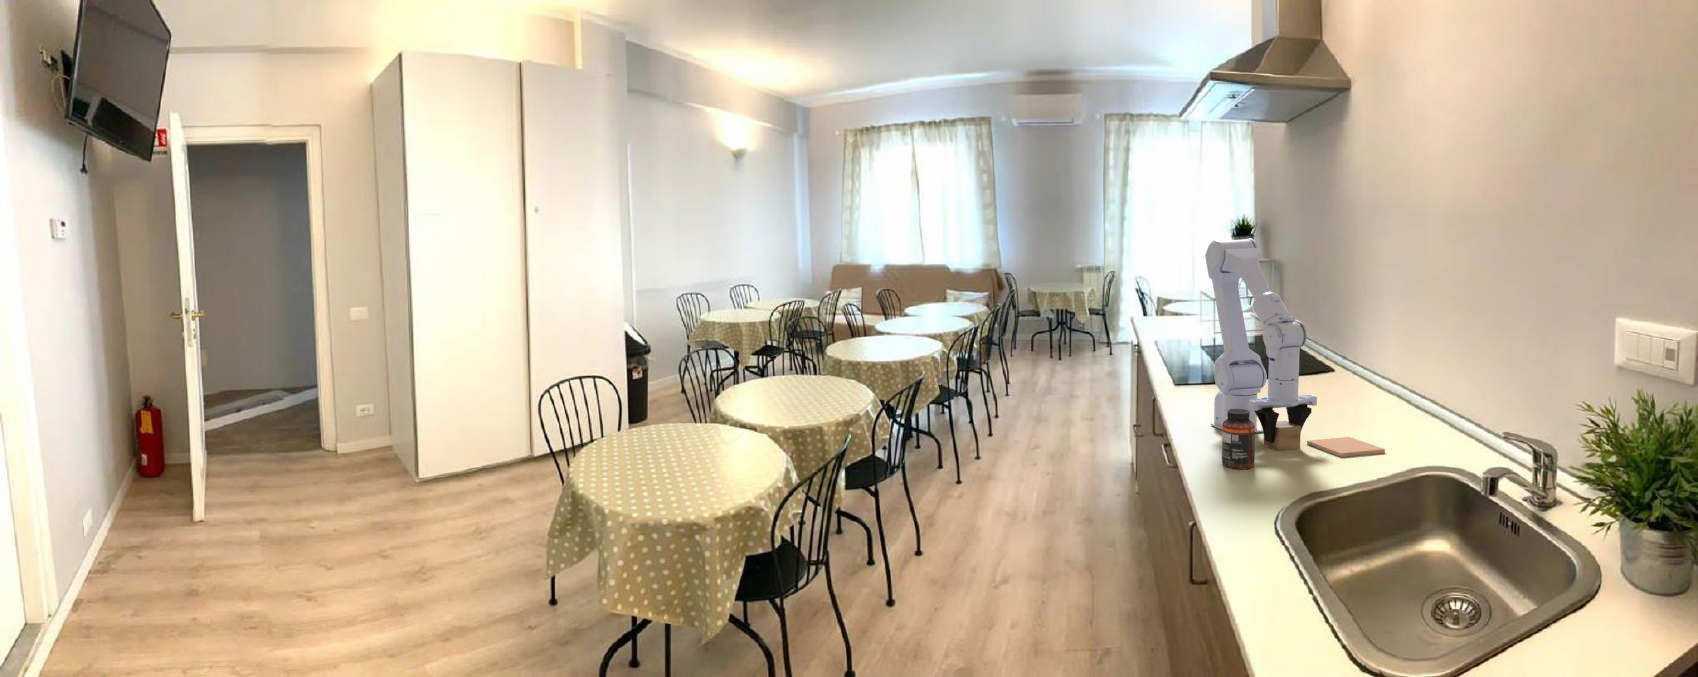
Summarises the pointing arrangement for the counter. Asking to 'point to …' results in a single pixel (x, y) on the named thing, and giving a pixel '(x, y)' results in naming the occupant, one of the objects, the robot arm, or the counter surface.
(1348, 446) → the terracotta tile
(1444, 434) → the counter surface
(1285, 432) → the walnut cube
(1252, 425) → the supplement bottle
